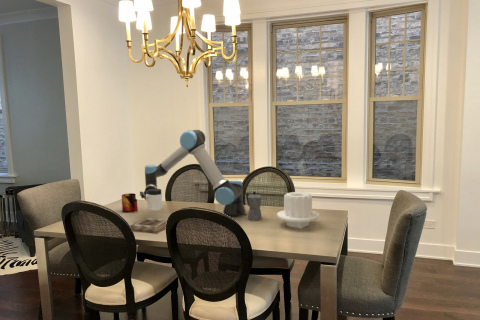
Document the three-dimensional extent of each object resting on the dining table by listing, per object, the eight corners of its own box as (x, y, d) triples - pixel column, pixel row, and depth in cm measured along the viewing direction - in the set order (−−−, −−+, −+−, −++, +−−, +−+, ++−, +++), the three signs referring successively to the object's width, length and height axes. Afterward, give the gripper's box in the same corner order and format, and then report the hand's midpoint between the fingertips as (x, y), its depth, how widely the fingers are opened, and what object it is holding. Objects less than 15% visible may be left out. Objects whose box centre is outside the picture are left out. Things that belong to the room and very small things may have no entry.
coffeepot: (266, 220, 242) (266, 192, 240) (254, 222, 237) (254, 194, 235) (252, 215, 255) (252, 188, 253) (241, 217, 250) (240, 190, 248)
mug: (137, 213, 266) (136, 196, 265) (119, 212, 270) (118, 195, 268) (144, 210, 275) (143, 193, 274) (127, 209, 279) (126, 193, 278)
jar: (144, 209, 231) (144, 189, 230) (154, 207, 237) (154, 188, 236) (154, 211, 226) (155, 191, 225) (164, 209, 233) (164, 189, 232)
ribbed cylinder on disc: (305, 234, 212) (305, 201, 210) (268, 226, 228) (268, 195, 226) (326, 223, 231) (326, 193, 228) (291, 217, 247) (291, 188, 245)
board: (175, 222, 240) (175, 218, 240) (157, 233, 220) (156, 228, 219) (145, 220, 247) (145, 216, 247) (124, 230, 227) (124, 226, 227)
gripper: (162, 195, 252) (162, 203, 229) (139, 197, 249) (136, 205, 226) (162, 184, 251) (161, 191, 228) (138, 185, 248) (135, 193, 225)
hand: (149, 198), depth 227 cm, fingers closed on jar, 2 cm apart
